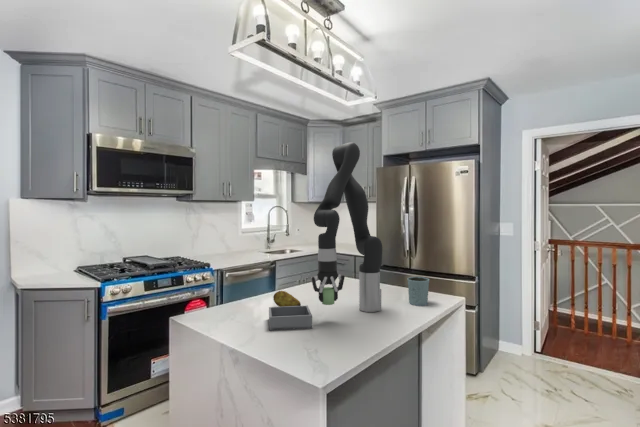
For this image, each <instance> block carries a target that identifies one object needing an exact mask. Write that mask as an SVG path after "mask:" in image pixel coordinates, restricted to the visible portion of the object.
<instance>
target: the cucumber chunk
mask: <svg viewBox="0 0 640 427" xmlns="http://www.w3.org/2000/svg"><path fill="white" fill-rule="evenodd" d="M322 293H323V302H321V304H322V305H324V306H333V305H335V302H336V301H334V288H333V286H324V288H323V291H322Z"/></svg>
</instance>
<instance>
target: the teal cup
mask: <svg viewBox="0 0 640 427" xmlns="http://www.w3.org/2000/svg"><path fill="white" fill-rule="evenodd" d="M429 284H430V278H427V277H423V276H410V277H407V287H408V289H407V291H408V304H409V305H411V306H416V307H425V306H428V304H429V303H428V301H429Z"/></svg>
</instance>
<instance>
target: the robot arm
mask: <svg viewBox="0 0 640 427" xmlns="http://www.w3.org/2000/svg"><path fill="white" fill-rule="evenodd" d="M331 153H332V155H331V156H332V161H333V164H334V166H335V169H336V174H335V175H334V176H333V178H332V179H331V181H330V182H329V183H328V185H327V188H326V191H325V194H324V198H323V199H322V201H321V202H320V203H319V205H318V206H317V208H316V210H315V211H314V214H313V222H314V225H315V226H317V227H319V228H326V230H325V232H321V233H319V234H318V237H317V238H318V240H317V241H318V244H317V246H318V251H317V263H318V264H317V267H318V269H317V270H318V272H317V275H314V276H313V275H311V276H310V280H311V284H312V289H313V290H314V292H316V293H318V300H319V301H320V303H322V302H323V293H322V291H323V288H324V287H326V285H331V287H333V288H334V302H336V301H337V300H339V296H338V295H339V294H338V293H339V291H342V290H343V285H344V282H345V275H344V274H340V273H338V267H337V266H338V265H337V264H338V262H337V261H338V260H337V258H338V257H337V256H338V253H337V246H336V245H337V244H336V242H337V241H336V239H337V238H336V237H337V233H338V229H339V225H340V220H341V219H340V215H339V212H338V211H337V210H335V209H337V208H339V207H340V204H341V202H342V198H343V195H344V198H345V203H346V206H347V210H348V213H349V216H350V217H349V218H350V221H351V225H352V229H353V235H354V242H355V246H356V250H357V251H358V253H359V254H360V255H362V256H363V262H362V263H361V264H359V266H358V268H359V269H358V270H359V271H358V276H359V277H358V279H359V280H358V282H359V284H358V285H359V286H358V287H359V288H358V290H359V291H358V296H359V297H358V299H359V300H358V302H359V304H358V305H359V306H358V307H359V308H358V309H359V311H361V312H365V313H366V312H367V313H376V312H381V311H382V289H381V276H380V275H381V267H382V263H383V243H382V240H381V239H380V238H379V237H377V236H375V235H374V236H373V235H371V233H370V229H369V225H368V215H369V202H368V198H367V195H366V191H365V190H364V188H363V187H362V185H361V184H360V183H359V182H358V181H357V180H356V178H355V177H354V176H353V172H354V170H355V168H356V166H357V164H358V162H359V159H360V156H361V155H360V154H361V150H360V148H359V146H358V144H356V143H355V142H351V141H350V142H346V143H343V144H340V145H337V146H335V147H334V148H333V149H332V152H331ZM337 279H338V285H337V284H336V280H337ZM318 280H319V281H320V282H319V286H317V283H316V282H317V281H318Z"/></svg>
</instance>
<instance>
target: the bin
mask: <svg viewBox="0 0 640 427" xmlns="http://www.w3.org/2000/svg"><path fill="white" fill-rule="evenodd" d="M268 325H269V331H270V332H272V331H273V332H274V331H287V330H290V331H291V330H307V329H313V314H312V312H311V309H310V308H309V306H308V305H301V306H285V307H279V306H270V307H268Z"/></svg>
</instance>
